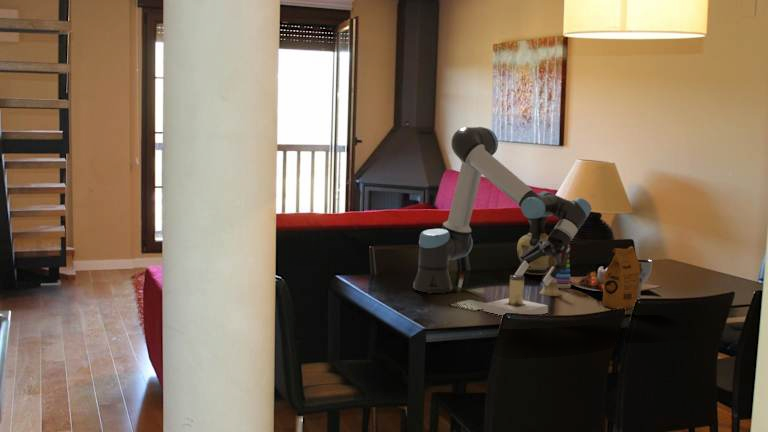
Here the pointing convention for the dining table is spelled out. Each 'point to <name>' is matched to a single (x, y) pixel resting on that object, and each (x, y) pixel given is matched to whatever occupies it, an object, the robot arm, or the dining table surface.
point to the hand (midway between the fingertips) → (530, 280)
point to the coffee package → (622, 279)
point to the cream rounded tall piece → (530, 241)
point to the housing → (503, 307)
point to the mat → (474, 305)
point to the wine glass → (644, 272)
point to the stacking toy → (563, 276)
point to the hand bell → (552, 287)
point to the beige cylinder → (516, 290)
